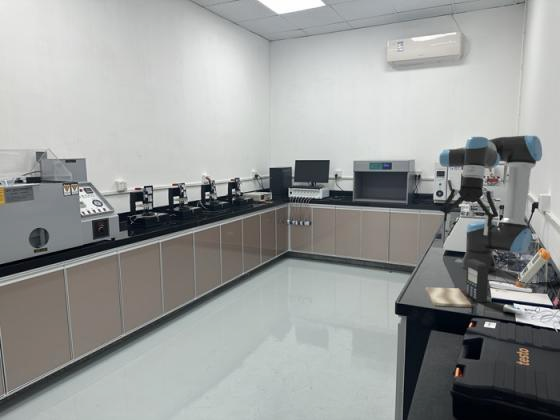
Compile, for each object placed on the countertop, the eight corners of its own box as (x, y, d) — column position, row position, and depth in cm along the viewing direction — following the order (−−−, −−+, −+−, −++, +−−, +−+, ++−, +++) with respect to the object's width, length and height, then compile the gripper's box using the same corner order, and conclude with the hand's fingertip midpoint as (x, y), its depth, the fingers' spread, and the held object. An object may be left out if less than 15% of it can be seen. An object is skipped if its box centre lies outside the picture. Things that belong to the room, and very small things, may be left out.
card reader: (464, 295, 155) (465, 258, 153) (473, 294, 156) (475, 258, 154) (477, 303, 146) (479, 265, 144) (487, 302, 147) (489, 264, 145)
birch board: (458, 290, 161) (458, 288, 160) (471, 307, 143) (471, 304, 143) (425, 289, 163) (425, 287, 163) (434, 305, 145) (434, 303, 145)
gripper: (436, 174, 153) (429, 228, 153) (508, 177, 137) (500, 237, 137) (441, 177, 159) (435, 228, 159) (511, 180, 143) (504, 237, 143)
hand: (465, 232), depth 148 cm, fingers open, 13 cm apart
